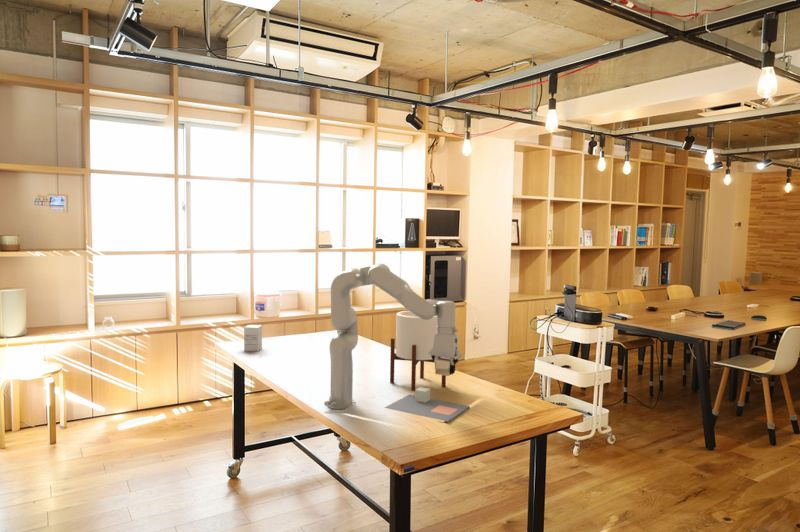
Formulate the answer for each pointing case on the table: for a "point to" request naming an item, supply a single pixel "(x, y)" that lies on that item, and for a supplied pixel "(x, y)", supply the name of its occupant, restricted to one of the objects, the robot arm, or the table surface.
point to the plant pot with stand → (413, 343)
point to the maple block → (443, 366)
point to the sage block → (422, 394)
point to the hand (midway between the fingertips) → (444, 372)
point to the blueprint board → (429, 408)
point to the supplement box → (252, 338)
